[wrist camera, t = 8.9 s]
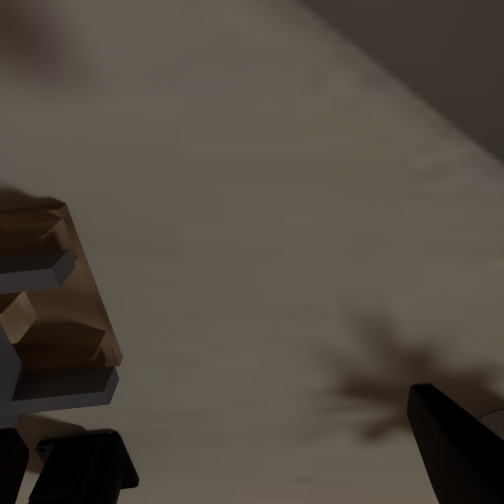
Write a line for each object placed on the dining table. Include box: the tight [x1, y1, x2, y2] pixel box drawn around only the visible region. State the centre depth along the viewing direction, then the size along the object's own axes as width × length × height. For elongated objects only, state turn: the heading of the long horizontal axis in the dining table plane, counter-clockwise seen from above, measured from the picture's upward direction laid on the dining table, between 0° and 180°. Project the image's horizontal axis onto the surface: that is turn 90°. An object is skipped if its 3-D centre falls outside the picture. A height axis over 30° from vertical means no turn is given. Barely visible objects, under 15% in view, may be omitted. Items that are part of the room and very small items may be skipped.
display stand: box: [0, 204, 123, 375], centre depth 20 cm, size 11×7×3 cm, turn 6°
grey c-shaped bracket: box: [0, 249, 119, 428], centre depth 18 cm, size 9×7×3 cm
